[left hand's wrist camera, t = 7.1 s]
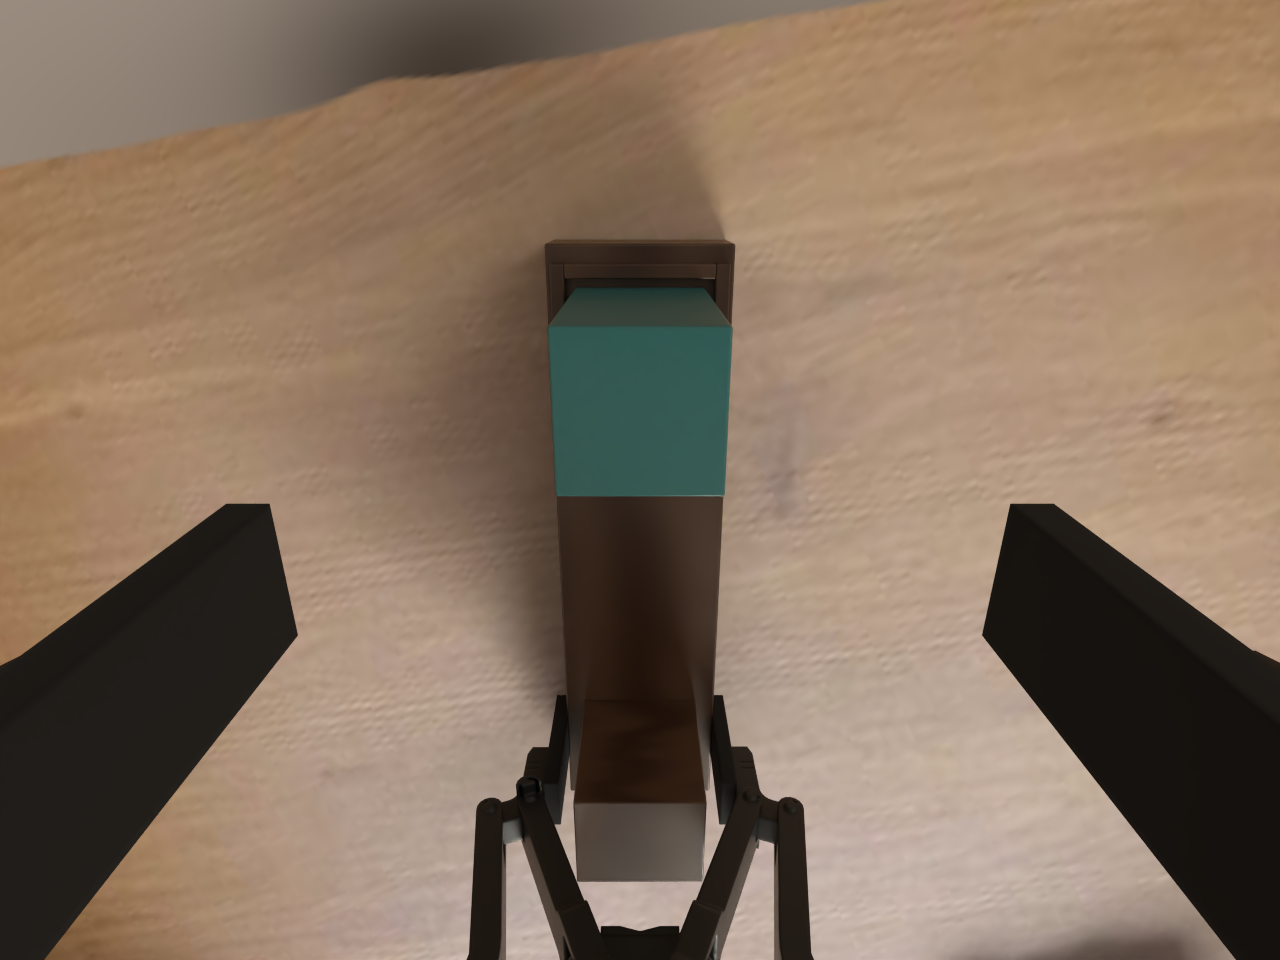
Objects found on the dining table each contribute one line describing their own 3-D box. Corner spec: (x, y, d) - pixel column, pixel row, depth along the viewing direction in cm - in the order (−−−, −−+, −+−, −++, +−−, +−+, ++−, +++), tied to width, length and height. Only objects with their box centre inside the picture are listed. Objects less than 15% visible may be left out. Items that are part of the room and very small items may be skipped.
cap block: (704, 286, 30) (733, 325, 21) (700, 410, 32) (724, 497, 23) (575, 286, 30) (546, 326, 21) (579, 410, 32) (555, 497, 23)
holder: (727, 239, 32) (762, 256, 23) (704, 753, 43) (722, 904, 34) (552, 239, 32) (517, 256, 23) (575, 752, 43) (557, 904, 34)
